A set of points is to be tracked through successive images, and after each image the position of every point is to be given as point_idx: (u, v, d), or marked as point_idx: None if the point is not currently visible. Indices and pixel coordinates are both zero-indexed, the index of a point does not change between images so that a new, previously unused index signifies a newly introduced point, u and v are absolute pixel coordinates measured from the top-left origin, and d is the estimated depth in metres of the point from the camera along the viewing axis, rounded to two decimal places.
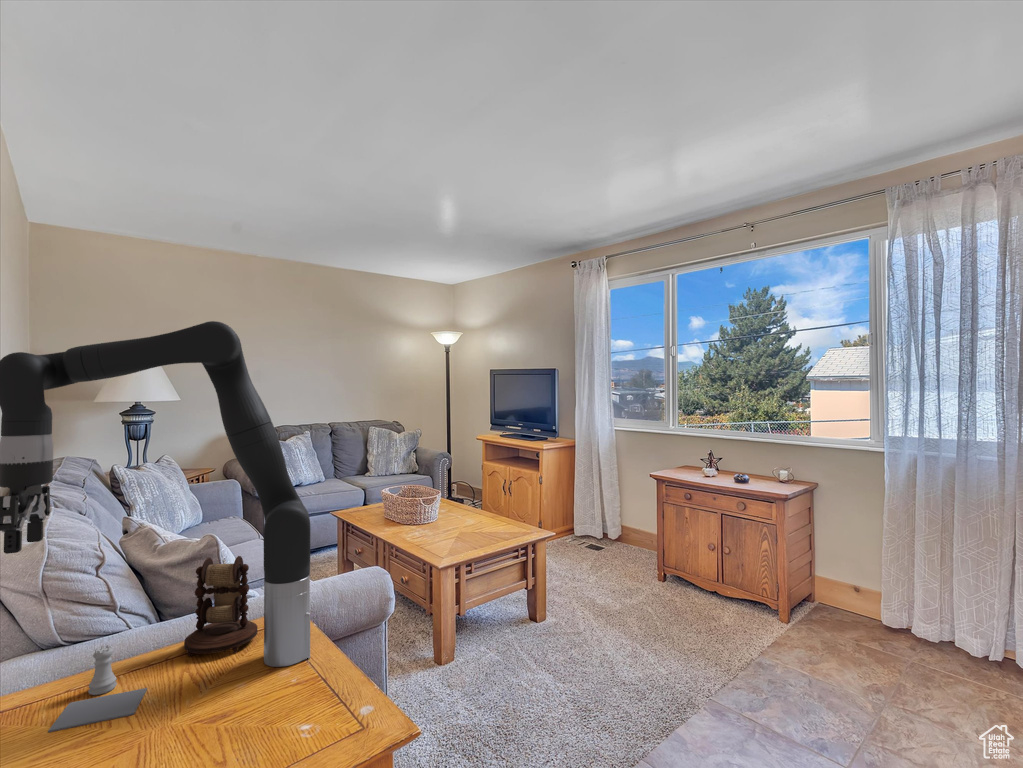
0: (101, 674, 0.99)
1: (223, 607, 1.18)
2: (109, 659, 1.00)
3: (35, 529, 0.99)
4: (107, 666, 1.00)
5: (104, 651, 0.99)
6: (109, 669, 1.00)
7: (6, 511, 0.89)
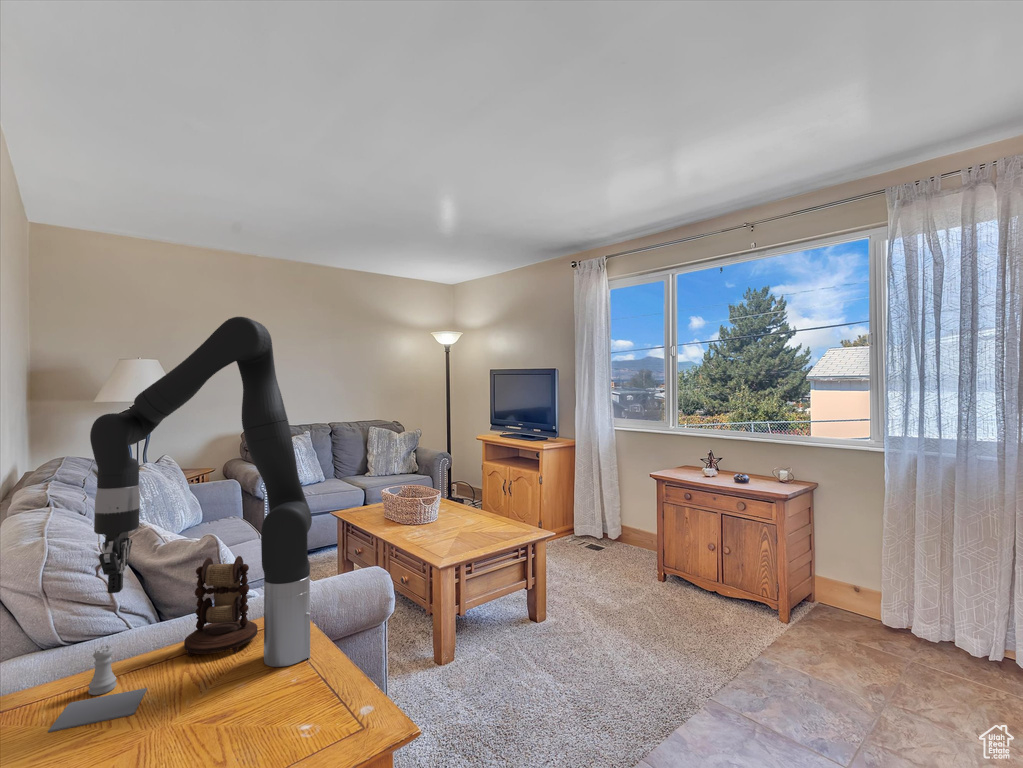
0: (101, 674, 0.99)
1: (223, 607, 1.18)
2: (109, 659, 1.00)
3: None
4: (107, 666, 1.00)
5: (104, 651, 0.99)
6: (109, 669, 1.00)
7: (109, 565, 1.03)
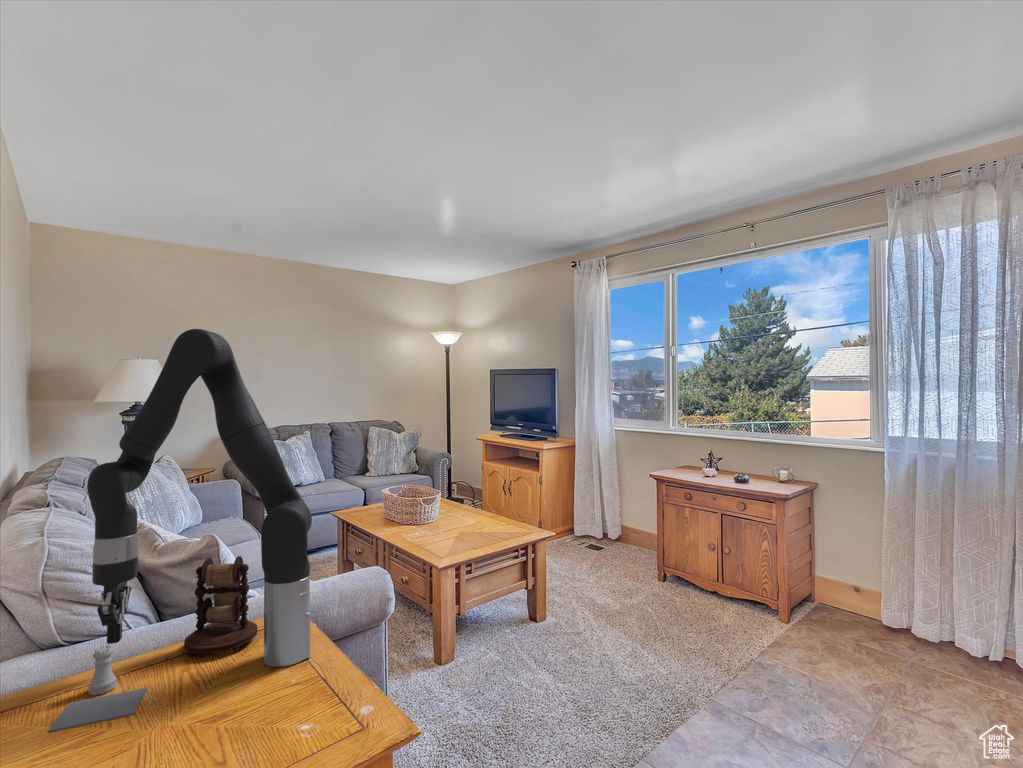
0: (101, 674, 0.99)
1: (223, 607, 1.18)
2: (109, 659, 1.00)
3: None
4: (107, 666, 1.00)
5: (104, 651, 0.99)
6: (109, 669, 1.00)
7: (107, 616, 1.02)
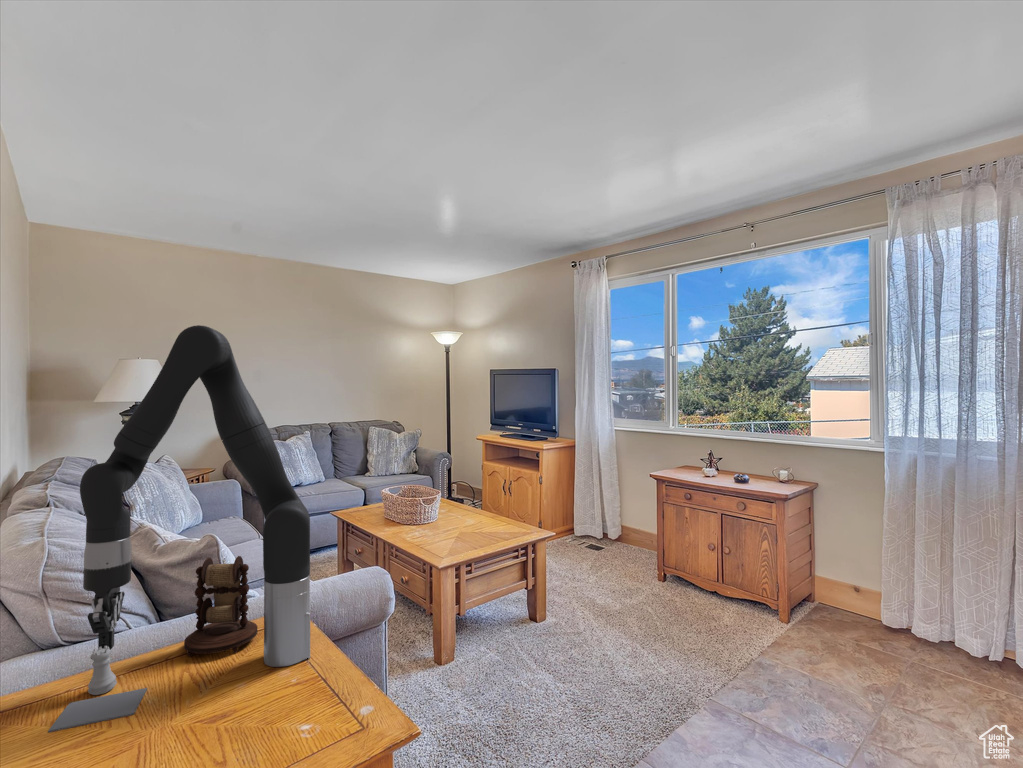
0: (100, 675, 0.98)
1: (223, 607, 1.18)
2: (107, 660, 0.99)
3: None
4: (106, 667, 0.99)
5: (102, 653, 0.98)
6: (108, 669, 0.99)
7: (98, 624, 0.98)
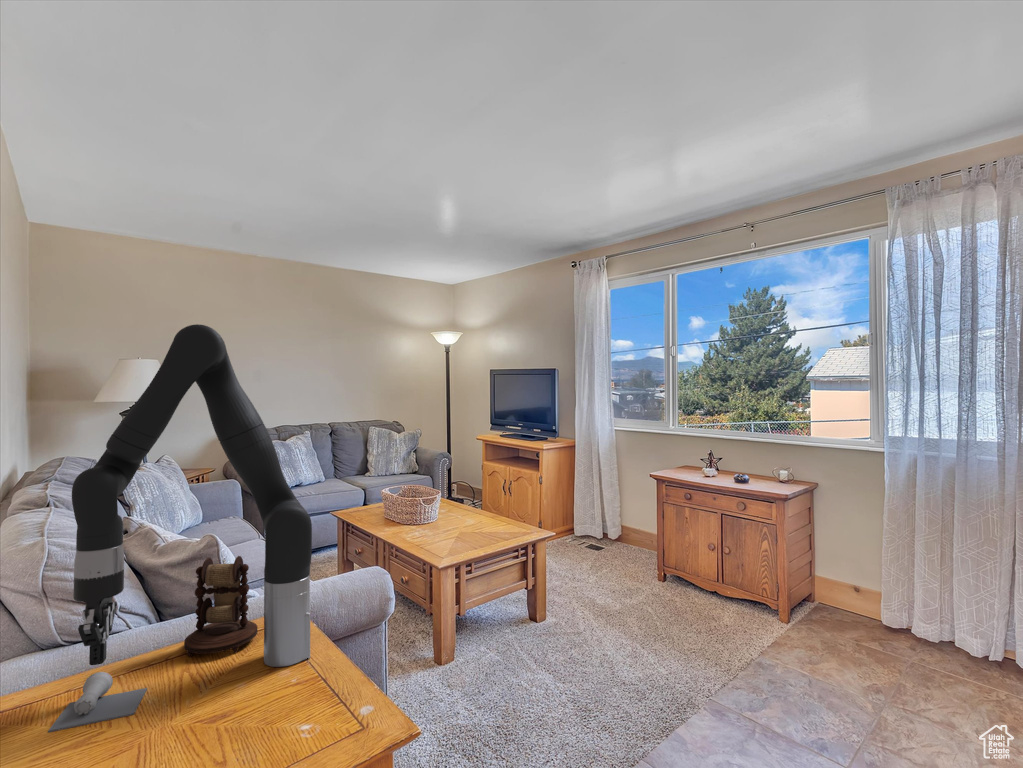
0: None
1: (223, 607, 1.18)
2: None
3: None
4: (96, 699, 0.94)
5: (86, 713, 0.91)
6: (99, 695, 0.95)
7: (89, 636, 0.93)
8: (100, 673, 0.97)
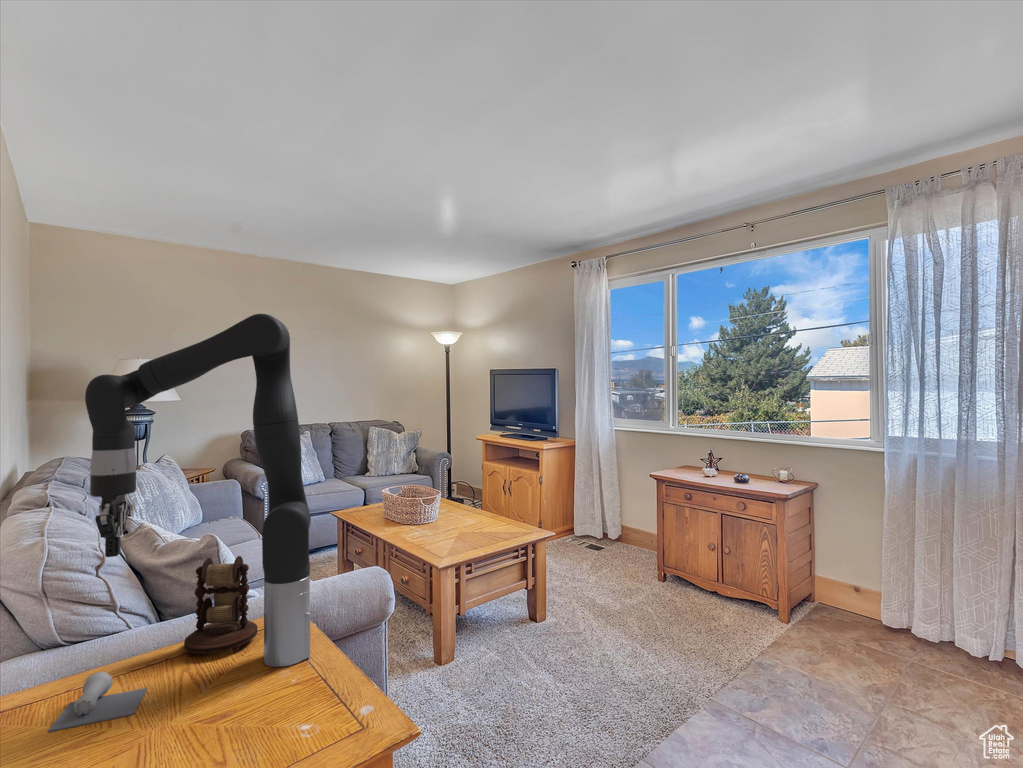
0: None
1: (223, 607, 1.18)
2: None
3: None
4: (96, 699, 0.94)
5: (86, 713, 0.91)
6: (99, 695, 0.95)
7: (105, 527, 1.01)
8: (100, 673, 0.97)
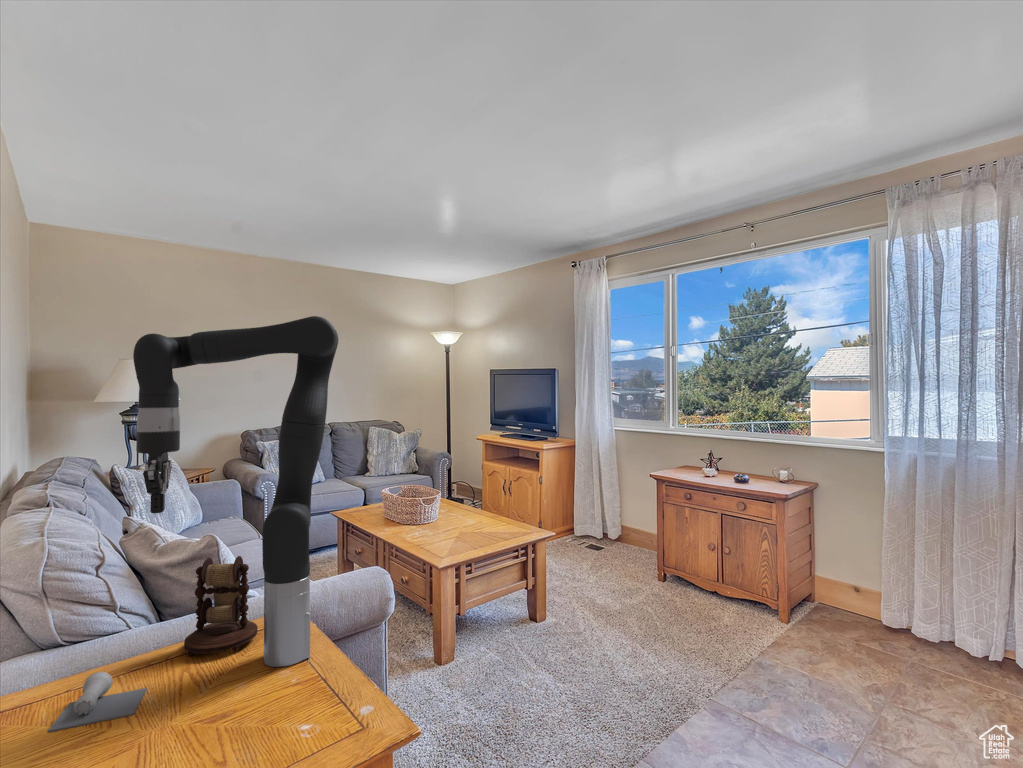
0: None
1: (223, 607, 1.18)
2: None
3: None
4: (96, 699, 0.94)
5: (86, 713, 0.91)
6: (99, 695, 0.95)
7: (152, 482, 1.03)
8: (100, 673, 0.97)
